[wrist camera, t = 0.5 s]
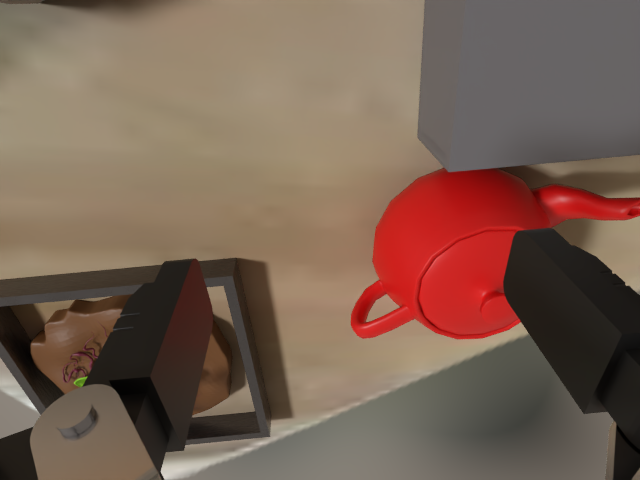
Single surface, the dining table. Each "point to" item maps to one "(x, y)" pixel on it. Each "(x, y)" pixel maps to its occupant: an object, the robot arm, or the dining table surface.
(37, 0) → the grey tissue
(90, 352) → the miniature garden
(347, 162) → the dining table surface
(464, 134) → the housing
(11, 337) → the rectangular frame
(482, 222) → the teapot
